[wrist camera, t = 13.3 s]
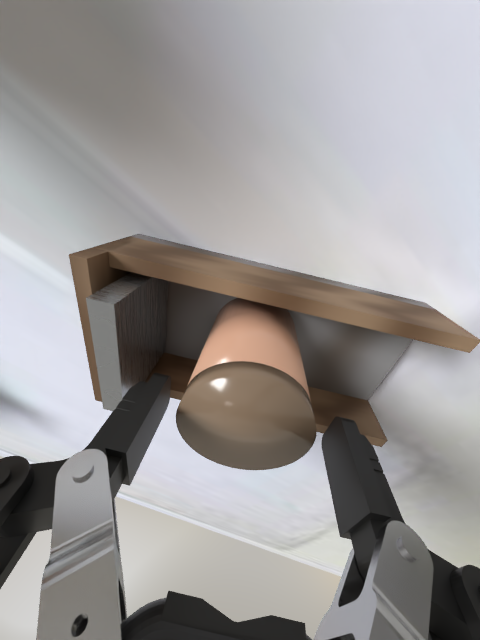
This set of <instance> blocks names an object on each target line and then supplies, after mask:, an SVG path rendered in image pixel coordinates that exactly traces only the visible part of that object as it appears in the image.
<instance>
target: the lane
mask: <svg viewBox="0 0 480 640" xmlns="http://www.w3.org/2000/svg"><path fill="white" fill-rule="evenodd" d="M69 258H70V264H71V269H72V275H73V280H74V285H75V291H76V296H77V302H78V307H79V313H80V318H81V324H82V329H83V335H84V340H85V346H86V351H87V357H88V362H89V368H90V373H91V379H92V384H93V390H94V395H95V400H97V401H101V402H102V396H101V390H100V384H99V378H98V371H97V365H96V359H95V352H94V346H93V340H92V334H91V327H90V321H89V315H88V308H87V302H86V297H88V296H90V295H92V294H94V293H95V292H97V291H99V290H101V289H102V288H104V287H106V286H108V285H110V284H111V283H113V282H115V281H117V280H118V279H120V278H122V277H124V276H126V275H127V274H129V273H131V272H133V273H137V274H141V275H146V276H150V277H154V278H158V279H162V280H167V281H168V301H167V322H166V343H165V352H164V353H163V355H162V356H161V358H160V359H159V361H158V362H157V364H156V365H155V367H154V368H153V370H152V371H151V373H150V374H149V376H148V377H147V379H146V380H145V382H146V383H148V381H149V380H150V378H151V377H152V375H153V374H154V373H160V374H164V375H168V376H171V389H170V398H175V399H179V400H181V399H182V397H183V395H184V392H185V390H186V388H187V385H188V383H189V381H190V378H191V376H192V373H193V371H194V369H195V366H196V364H197V362H198V359H199V357H200V355H201V352H202V350H203V348H204V345H205V343H206V340H207V338H208V336H209V333H210V331H211V329H212V326H213V324H214V322H215V319H216V317H217V315H218V313H219V311H220V310H221V309H222V308H223V307H224V306H225V305H226V304H227V303H228V302H230V301H231V300H234V299H236V298H242V299H246V300H250V301H255V302H259V303H263V304H267V305H271V306H276V307H280V308H284V309H287V310H288V312H289V313H290V315H291V317H292V319H293V321H294V325H295V330H296V334H297V339H298V344H299V348H300V353H301V357H302V362H303V367H304V371H305V376H306V381H307V385H308V390H309V395H310V399H311V404H312V409H313V413H314V418H315V423H316V429H317V431H316V432H320V433H325V431H326V430H327V428H328V427H329V425H330V424H331V422H332V421H333V419H334V418H335V417H336V416H338V417H342V418H347V419H351V420H354V421H355V422H356V424H357V427H358V429H359V432H360V434H362V435H365V437H366V438H367V439H368V441H369V442H370V443H371V444H372V445H376V446H380V447H382V446H383V445H384V444H385V442H386V441H387V439H386V436H385V434H384V432H383V430H382V428H381V426H380V424H379V422H378V420H377V418H376V416H375V414H374V412H373V410H372V408H371V406H370V404H369V402H368V400H369V398H370V397H371V396H372V394H373V393H374V391H375V390H376V389H377V387H378V386H379V385H380V383H381V382H382V381H383V379H384V378H385V377H386V375H387V374H388V373H389V371H390V370H391V369H392V367H393V366H394V365H395V363H396V362H397V361H398V359H399V358H400V357H401V355H402V354H403V353H404V351H405V350H406V349H407V347H408V346H409V345H410V343H411V342H412V340H413V339H414V340H418V341H422V342H426V343H431V344H435V345H439V346H443V347H447V348H452V349H456V350H460V351H464V352H468V353H470V352H471V351H472V350H473V349H474V348H475V347H476V346H477V345H478V344H479V342H480V339H478V338H477V337H475V336H474V335H472V334H471V333H469V332H468V331H466V330H465V329H463V328H462V327H460V326H459V325H457V324H456V323H455V322H453V321H452V320H450V319H449V318H447V317H446V316H444V315H443V314H441V313H440V312H438V311H437V310H435V309H434V308H432V307H431V306H429V305H428V304H426V303H423V302H419V301H415V300H411V299H407V298H403V297H399V296H394V295H390V294H386V293H382V292H378V291H374V290H369V289H365V288H361V287H357V286H353V285H349V284H344V283H340V282H336V281H332V280H328V279H324V278H319V277H315V276H311V275H307V274H303V273H299V272H295V271H290V270H286V269H282V268H278V267H274V266H270V265H265V264H261V263H257V262H253V261H249V260H245V259H240V258H236V257H232V256H228V255H224V254H220V253H215V252H211V251H207V250H203V249H199V248H195V247H191V246H186V245H182V244H178V243H174V242H170V241H166V240H161V239H157V238H153V237H149V236H145V235H141V234H137V235H133V236H130V237H126V238H123V239H120V240H116V241H113V242H110V243H106V244H103V245H99V246H96V247H93V248H89V249H86V250H83V251H79V252H76V253H73V254H69Z"/></svg>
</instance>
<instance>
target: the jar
mask: <svg viewBox="0 0 480 640" xmlns="http://www.w3.org/2000/svg"><path fill="white" fill-rule="evenodd" d="M176 423H177V428H178V430H179V433H180V434H181V436H182V438H183V439H184V440H185V442H186V443H187V444H188V445H189V446H190V447H191V448H192V449H194V450H195V451H196V452H197V453H199V454H200V455H202V456H204V457H205V458H207V459H209V460H211V461H214V462H216V463H219V464H222V465H225V466H228V467H232V468H238V469H245V470H266V469H273V468H278V467H282V466H285V465H288V464H290V463H293V462H295V461H297V460H298V459H300V458H301V457H303V456H304V455H305V454H306V453H307V452H308V451H309V450H310V448H311V447H312V445H313V443H314V441H315V438H316V431H317V429H316V423H315V418H314V413H313V409H312V404H311V399H310V395H309V390H308V385H307V381H306V376H305V371H304V367H303V362H302V357H301V353H300V348H299V344H298V339H297V334H296V330H295V325H294V321H293V319H292V317H291V315H290V313H289V312H288V310H287V309H284V308H280V307H276V306H271V305H267V304H263V303H259V302H255V301H250V300H246V299H242V298H236V299H234V300H231V301H230V302H228V303H227V304H226V305H225V306H224V307H223V308H222V309H221V310H220V311H219V313H218V315H217V317H216V319H215V322H214V324H213V326H212V329H211V331H210V333H209V336H208V338H207V340H206V343H205V345H204V348H203V350H202V352H201V355H200V357H199V359H198V362H197V364H196V366H195V369H194V371H193V373H192V376H191V378H190V381H189V383H188V385H187V388H186V390H185V392H184V395H183V397H182V399H181V402H180V404H179V406H178V409H177V413H176Z"/></svg>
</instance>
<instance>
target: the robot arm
mask: <svg viewBox="0 0 480 640" xmlns="http://www.w3.org/2000/svg"><path fill="white" fill-rule="evenodd" d="M170 389H171V376H168V375H164V374H160V373H154V374H153V375H152V377H151V378H150V380H149V381H148V383H146V382H142V381H140V382H138V383H137V384H135V385H134V386H132V387H131V388H130V389H129V390H128V391H127V393H126V394H125V396H124V397H123V398H122V401H120V402H119V404H118V405H117V407H116V409H114V411H113V412H112V414H111V415H110V416H109V418H108V419H107V420H106V422H105V423H104V425H103V426H102V427H101V429H100V430H99V432H98V433H97V434H96V436H95V437H94V438H93V440H92V441H91V442H90V444H89V445H88V446H87V447H86V448H85V449H84V450H82V451H81V452H78V453H76V454H75V455H73V456H72V457H70V458H68V459H65V460H61V461H54V462H45V463H37V464H29V462H28V461H27V460H26V459H25V458H23V457H20V456H10V457H5V458H2V459H0V589H1V587H2V586H3V584H4V582H5V581H6V579H7V578H8V576H9V574H10V573H11V571H12V570H13V568H14V567H15V565H16V563H17V562H18V561H19V559H20V557H21V556H22V554H23V553H24V551H25V550H26V548H27V546H28V545H29V543H30V542H31V540H32V539H33V537H34V535H35V534H36V532H38V531H43V530H49V529H52V539H51V551H50V558H49V562H48V564H47V565H46V567H45V570H44V573H43V578H42V584H41V594H40V605H39V617H38V627H37V638H36V640H312V639H311V638H310V637H309V636H307V635H306V631H305V623H302V622H298V621H293V620H289V619H285V618H281V617H277V616H272V615H270V616H266V617H261V618H256V619H252V620H247V621H242V622H234V621H232V620H231V619H229V618H228V617H226V616H225V615H224V614H222V613H221V612H220V611H218V610H217V609H215V608H214V607H213V606H211V605H210V604H208V603H207V602H206V601H204V600H203V599H201V598H197V597H193V596H188V595H184V594H180V593H176V592H172V591H168V594H167V598H164V599H159V600H156V601H153V602H151V603H148V604H147V605H145V606H143V607H141V608H140V609H138V610H137V611H136V612H134V613H133V614H132V615H130V616H129V617H128V618H127V611H126V601H125V591H124V583H123V572H122V565H121V557H120V548H119V537H118V529H117V528H118V527H117V517H116V507H115V496H116V494H117V492H118V490H119V489H120V487H121V485H122V484H126V485H130V484H131V482H132V480H133V478H134V476H135V474H136V472H137V470H138V468H139V465H140V463H141V461H142V459H143V457H144V455H145V453H146V451H147V449H148V447H149V445H150V443H151V440H152V438H153V436H154V434H155V432H156V430H157V428H158V426H159V424H160V422H161V420H162V418H163V416H164V413H165V411H166V409H167V407H168V404H169V400H170ZM322 450H323V455H324V460H325V465H326V470H327V475H328V480H329V484H330V489H331V494H332V499H333V504H334V509H335V514H336V519H337V523H338V528H339V533H340V537H343V538H347V539H351V540H352V544H353V549H352V550H351V552H350V554H349V557H348V560H347V563H346V566H345V568H344V571H343V574H342V577H341V580H340V583H339V586H338V589H337V591H336V594H335V597H334V600H333V602H332V605H331V607H330V609H329V610H328V611H327V613H326V614H325V615H324V617H323V619H322V621H321V623H320V625H319V627H318V630H317V632H316V635H315V637H314V640H480V569H479V568H477V567H475V566H472V565H466V566H463V567H461V568H457V567H456V566H454V565H452V564H451V563H449V562H447V561H446V560H444V559H443V558H441V557H439V556H438V555H436V554H434V553H433V552H431V551H430V550H428V549H427V547H426V545H425V544H424V542H423V541H422V540H421V538H420V537H419V536H418V535H417V533H416V532H415V531H414V530H413V529H411V528H410V527H409V526H408V525H406V524H405V522H404V520H403V518H402V516H401V514H400V511H399V509H398V506H397V504H396V501H395V499H394V497H393V494H392V492H391V489H390V487H389V484H388V482H387V479H386V477H385V475H384V474H383V470H382V467H381V465H380V463H379V462H378V461H379V460H378V457H377V455H376V453H375V450H374V448H373V446H372V445H371V443H370V442H369V441H368V439H367V438H366V437H365V435H362V434H360V432H359V429H358V427H357V424H356V422H355V421H354V420H351V419H347V418H342V417H338V416H336V417H335V418H334V419H333V421H332V422H331V424H330V425H329V427H328V428H327V430H326V431H325V433H324V434H323V437H322Z"/></svg>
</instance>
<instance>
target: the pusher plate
mask: <svg viewBox="0 0 480 640" xmlns="http://www.w3.org/2000/svg"><path fill="white" fill-rule="evenodd" d="M167 301H168V281H167V280H162V279H158V278H154V277H150V276H146V275H141V274H137V273H133V272H131V273H129V274H127V275H126V276H124V277H122V278H120V279H118V280H117V281H115V282H113V283H111V284H110V285H108V286H106V287H104V288H102V289H101V290H99V291H97V292H95V293H94V294H92V295H90V296H88V297H86V302H87V308H88V315H89V321H90V327H91V334H92V340H93V346H94V352H95V359H96V365H97V371H98V378H99V384H100V390H101V396H102V403H103V409H107V410H111V411H114V409H116V407H117V405H118V404H119V402H120V401H122V398H123V397H124V396H125V394H126V393H127V391H128V390H129V389H130V388H131V387H132V386H134V385H135V384H137V383H138V382H140V381H142V382H145V380H146V379H147V377H148V376H149V374H150V373H151V371H152V370H153V368H154V367H155V365H156V364H157V362H158V361H159V359H160V358H161V356H162V355H163V353H164V352H165V343H166V322H167Z"/></svg>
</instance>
